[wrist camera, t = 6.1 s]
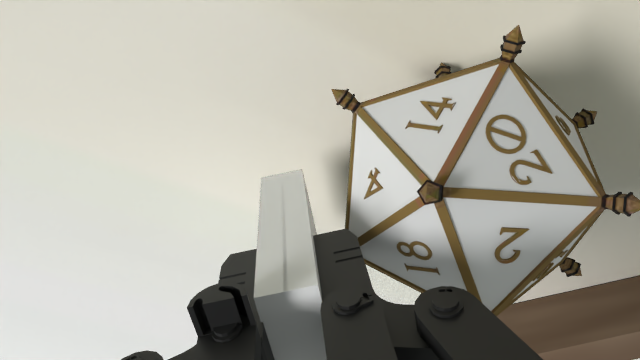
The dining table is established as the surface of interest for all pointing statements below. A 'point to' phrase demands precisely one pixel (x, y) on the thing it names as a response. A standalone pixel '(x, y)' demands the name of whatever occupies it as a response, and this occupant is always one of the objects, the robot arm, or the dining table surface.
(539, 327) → the brown wooden bar
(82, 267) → the dining table surface
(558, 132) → the game die
